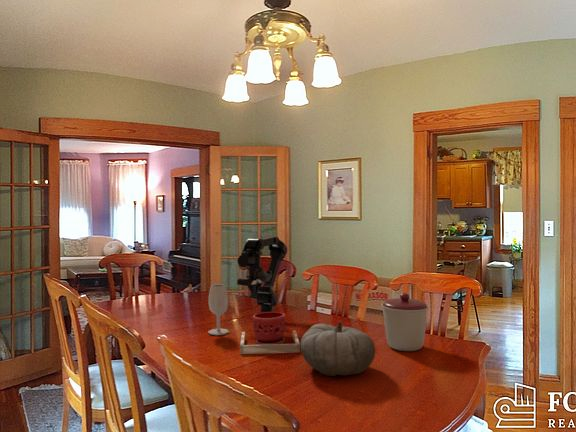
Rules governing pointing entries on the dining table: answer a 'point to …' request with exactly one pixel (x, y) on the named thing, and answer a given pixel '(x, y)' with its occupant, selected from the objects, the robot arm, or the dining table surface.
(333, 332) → the gourd
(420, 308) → the canister
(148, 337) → the dining table surface
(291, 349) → the frame
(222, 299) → the wineglass
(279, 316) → the plant pot
